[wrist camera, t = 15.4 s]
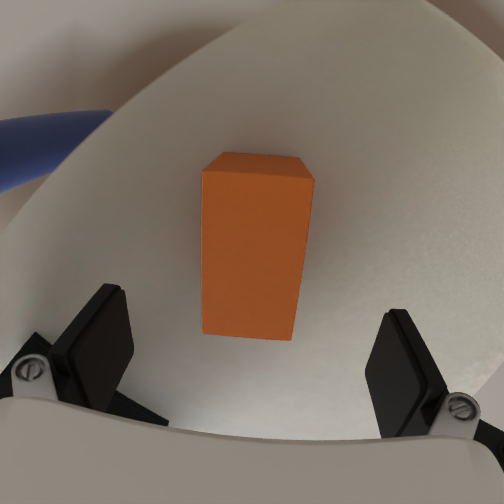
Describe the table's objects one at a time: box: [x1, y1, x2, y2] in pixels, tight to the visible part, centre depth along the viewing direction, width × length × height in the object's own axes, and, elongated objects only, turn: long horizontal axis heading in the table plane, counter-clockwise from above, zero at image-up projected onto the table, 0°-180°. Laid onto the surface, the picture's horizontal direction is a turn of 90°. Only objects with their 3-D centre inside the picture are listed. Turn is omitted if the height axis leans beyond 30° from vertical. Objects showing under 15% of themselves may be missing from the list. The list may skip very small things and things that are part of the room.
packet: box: [201, 152, 314, 341], centre depth 19 cm, size 5×9×7 cm, turn 176°
